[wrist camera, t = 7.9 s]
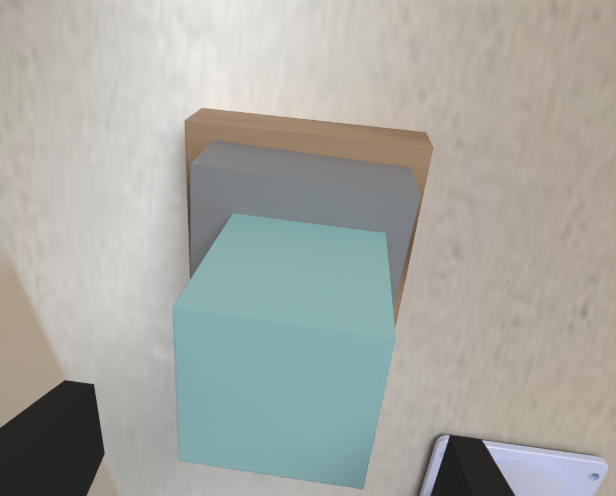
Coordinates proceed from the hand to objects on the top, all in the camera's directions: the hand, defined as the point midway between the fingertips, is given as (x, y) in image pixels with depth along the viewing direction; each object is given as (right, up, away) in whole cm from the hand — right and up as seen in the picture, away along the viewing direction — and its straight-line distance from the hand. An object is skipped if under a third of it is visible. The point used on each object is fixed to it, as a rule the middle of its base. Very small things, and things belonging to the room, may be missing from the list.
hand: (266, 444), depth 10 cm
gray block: (+1, +4, +7) cm, 9 cm away
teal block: (+1, +3, +5) cm, 6 cm away
